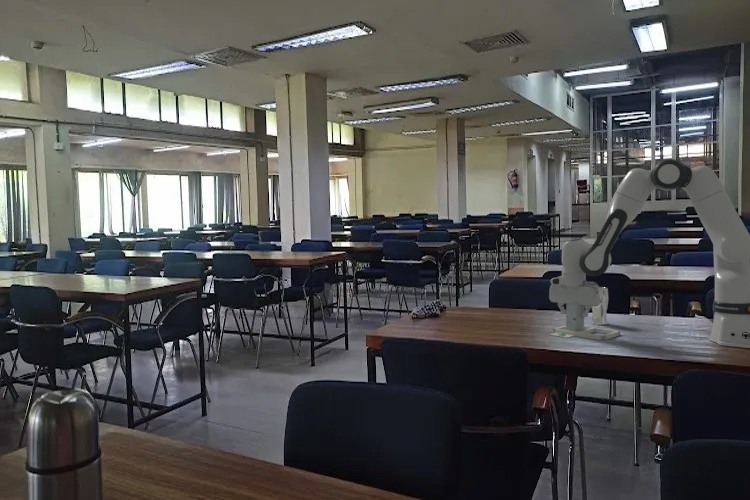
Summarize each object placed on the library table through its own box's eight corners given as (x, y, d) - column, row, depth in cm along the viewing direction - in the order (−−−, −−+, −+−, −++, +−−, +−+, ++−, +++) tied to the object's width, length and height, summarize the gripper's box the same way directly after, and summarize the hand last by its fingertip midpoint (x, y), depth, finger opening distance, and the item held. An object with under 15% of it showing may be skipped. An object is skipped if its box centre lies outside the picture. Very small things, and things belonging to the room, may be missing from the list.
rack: (620, 334, 224) (620, 331, 224) (596, 342, 213) (596, 338, 213) (570, 327, 240) (570, 324, 240) (545, 334, 229) (545, 330, 229)
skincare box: (565, 330, 234) (565, 300, 233) (574, 329, 235) (574, 299, 234) (575, 333, 228) (575, 302, 227) (585, 332, 229) (584, 301, 229)
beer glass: (605, 326, 241) (605, 289, 240) (588, 324, 246) (588, 288, 245) (610, 323, 247) (610, 287, 246) (593, 321, 251) (593, 286, 250)
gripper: (602, 281, 225) (603, 317, 226) (555, 277, 240) (556, 311, 241) (594, 283, 221) (594, 319, 222) (546, 279, 236) (547, 313, 237)
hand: (574, 315), depth 232 cm, fingers open, 8 cm apart
